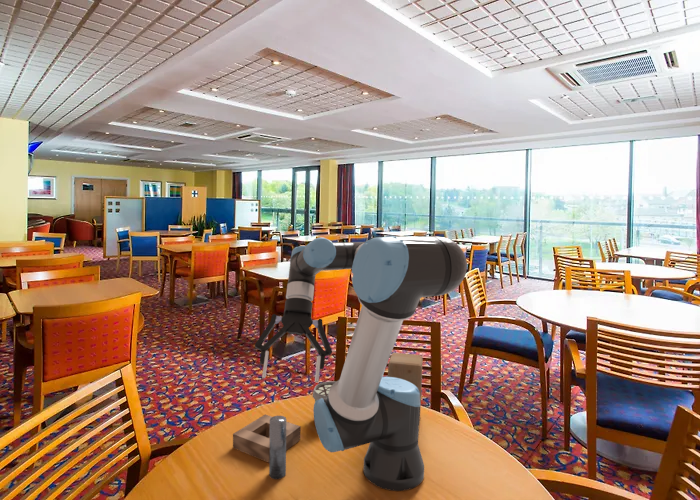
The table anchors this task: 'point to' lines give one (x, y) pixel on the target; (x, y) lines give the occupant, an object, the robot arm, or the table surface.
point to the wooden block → (407, 369)
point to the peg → (277, 447)
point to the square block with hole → (262, 437)
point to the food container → (322, 390)
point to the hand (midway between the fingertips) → (290, 379)
